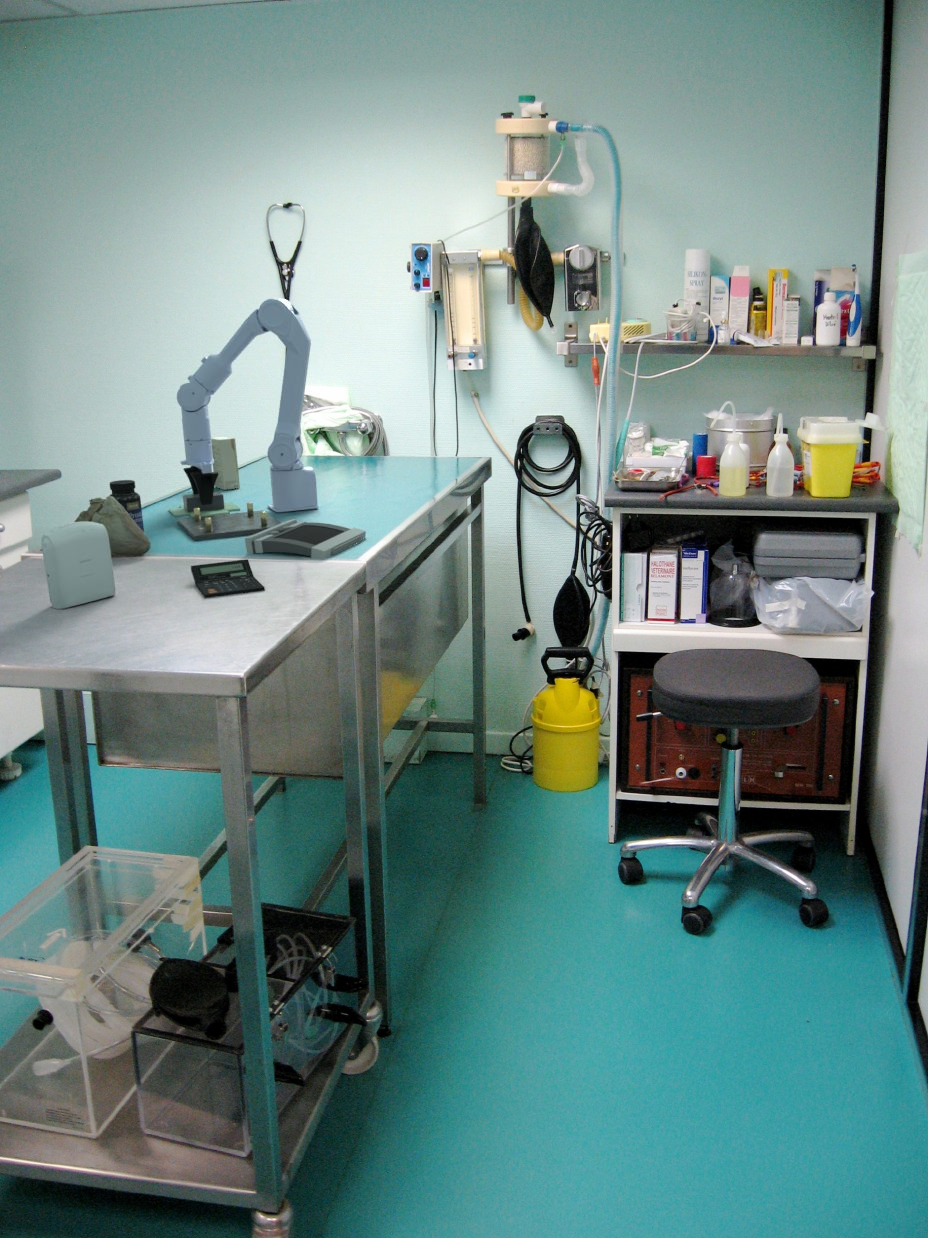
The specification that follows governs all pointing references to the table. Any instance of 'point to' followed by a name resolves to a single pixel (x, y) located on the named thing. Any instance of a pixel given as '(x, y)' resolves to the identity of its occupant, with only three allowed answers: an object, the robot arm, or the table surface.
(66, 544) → the photo printer
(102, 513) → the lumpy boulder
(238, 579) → the calculator
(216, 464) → the skincare box
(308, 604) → the table surface
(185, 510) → the circuit board
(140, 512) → the pill bottle
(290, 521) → the grey curved panel device
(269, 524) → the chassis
